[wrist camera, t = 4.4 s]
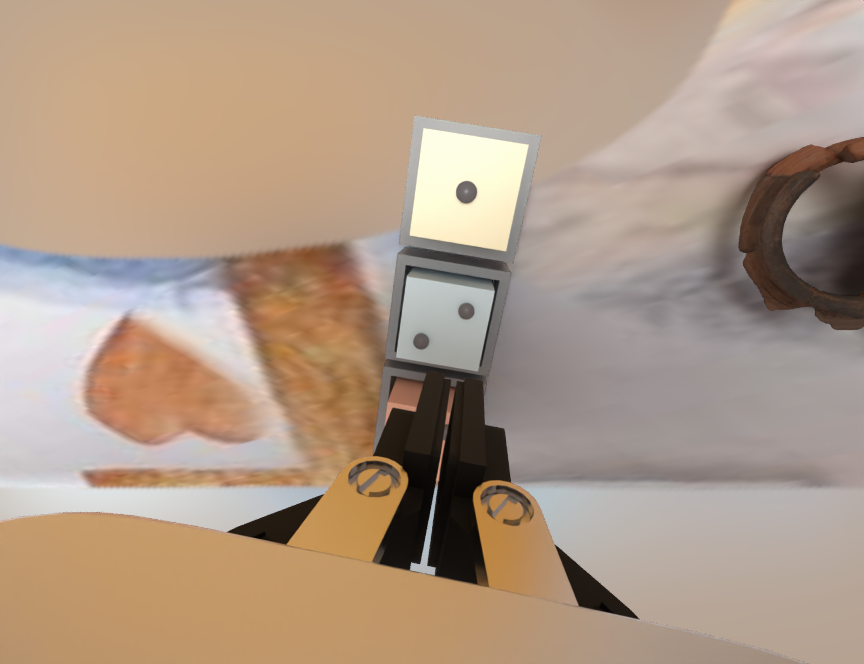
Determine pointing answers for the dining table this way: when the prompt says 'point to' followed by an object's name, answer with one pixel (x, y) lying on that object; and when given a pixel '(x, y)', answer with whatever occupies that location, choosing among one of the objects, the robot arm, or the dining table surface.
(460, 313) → the button two
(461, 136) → the button one
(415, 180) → the tile one base
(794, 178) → the pottery mug
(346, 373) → the dining table surface
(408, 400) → the button three
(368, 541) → the robot arm
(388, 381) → the tile base
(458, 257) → the tile two base
